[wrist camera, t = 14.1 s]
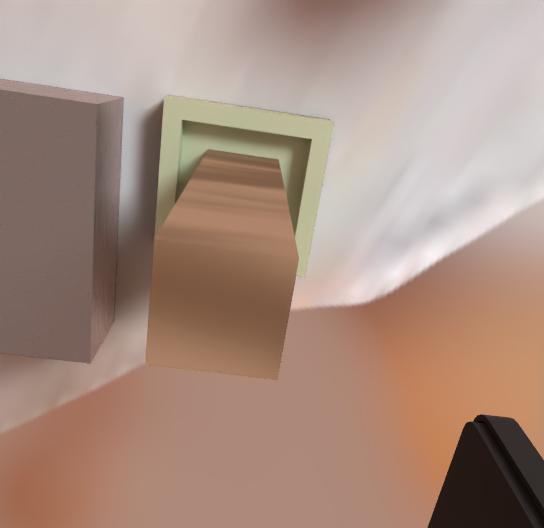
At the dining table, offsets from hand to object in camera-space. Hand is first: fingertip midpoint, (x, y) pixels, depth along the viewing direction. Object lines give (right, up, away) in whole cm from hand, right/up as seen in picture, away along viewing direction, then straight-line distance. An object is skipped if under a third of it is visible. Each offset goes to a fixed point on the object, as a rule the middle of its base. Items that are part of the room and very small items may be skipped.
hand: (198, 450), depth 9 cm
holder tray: (-1, +8, +21) cm, 23 cm away
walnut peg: (-1, +8, +21) cm, 22 cm away
